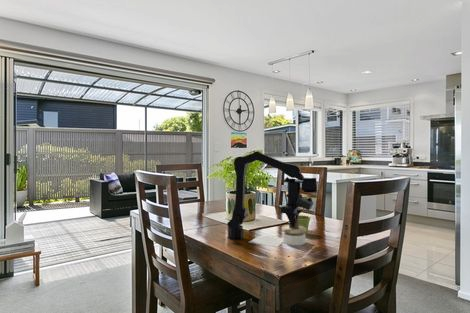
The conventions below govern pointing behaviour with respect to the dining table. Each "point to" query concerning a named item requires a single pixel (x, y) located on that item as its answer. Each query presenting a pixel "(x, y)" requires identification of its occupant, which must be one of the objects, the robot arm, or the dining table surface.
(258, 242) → the mat
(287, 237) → the bowl
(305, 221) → the plant pot
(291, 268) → the dining table surface
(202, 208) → the dining table surface
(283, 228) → the lid
